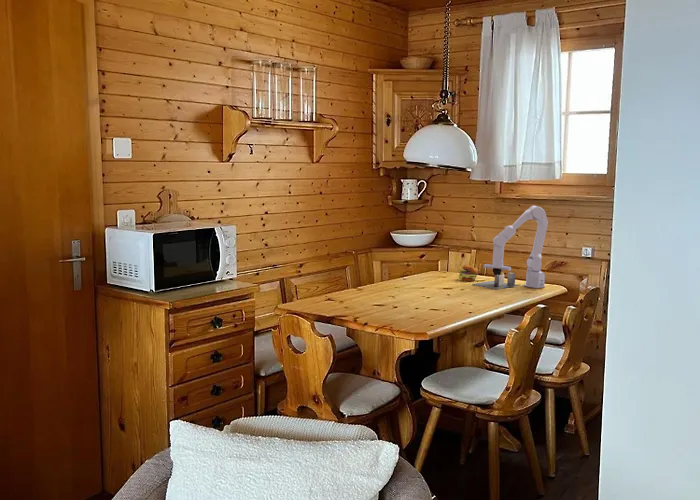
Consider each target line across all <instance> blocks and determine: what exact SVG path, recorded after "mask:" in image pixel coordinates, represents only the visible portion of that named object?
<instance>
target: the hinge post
mask: <svg viewBox="0 0 700 500" xmlns="http://www.w3.org/2000/svg"><path fill="white" fill-rule="evenodd" d="M493 281H494V287H499V275H495V276H494V280H493Z"/></svg>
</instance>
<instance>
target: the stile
mask: <svg viewBox="0 0 700 500" xmlns="http://www.w3.org/2000/svg"><path fill="white" fill-rule="evenodd" d="M506 279H507V281H506V283H507V284H508V286H514V285H516V273H515V272H507V278H506Z"/></svg>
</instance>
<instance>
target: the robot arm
mask: <svg viewBox="0 0 700 500" xmlns="http://www.w3.org/2000/svg"><path fill="white" fill-rule="evenodd" d="M533 219H534V221H536V223H537V227H536V232H535V234H534V235H535V237H534V241H533V246H532V249H531V252H530V254H529V257H528V258H527V260H526V263H525V264H526V266H527V268H526V277H525V279H526V280H525V284H522V286H523V287H528V288H533V289H540V288H541V289H542V288H545V287H546V286H545V283H546V281H545V280H546V278H545V277H546V275H545V272H543V271H541V269H542V265H543V264H542V259H543V257H542V253H543V247H544V243H545V239H546V234H547V229H548V226H549V220H548V217H547V213H546V210H544V209H543V207H541V206H537V205H531V206H530V207H529V208H527V209H526V210H525V211H524V212H523V213H522V214H521V215H520V216H519V217H518V218H517V219H516V220H515V221H514V223H513V224H511V225H507V226H504V229H503V230H502V231H500V232H499V233H497V235H496V236H495V237H494V238H493V240H492V243H493V250H492V251H493V252H492V263H491V264H488V263H485V264H484V265H483V266H484V267H483V268H484V269H492V273H493V276H494V277H495V275H500V274H501V273H502V271H508V272H509V271H510V272H511V271H512V267H511V266H507V265H504V256H505V255H504V254H505V246H506V244H507V242H509V240H510V239H511V238H513V236H515V234H516V231H517V230H518V229H519V228H520V227H521V226H522V225H523V224H524V223H525V222H526V221H529V220H533Z"/></svg>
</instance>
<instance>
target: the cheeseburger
mask: <svg viewBox="0 0 700 500" xmlns="http://www.w3.org/2000/svg"><path fill="white" fill-rule="evenodd" d="M462 269H463V270H460V272H459V274H458V280H459V281H460V282H462V281H466V282H474V281H476V278H477V276H478V275H479V269H478V267H472V266H471V265H470V264H464V265H463V266H462Z"/></svg>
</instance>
